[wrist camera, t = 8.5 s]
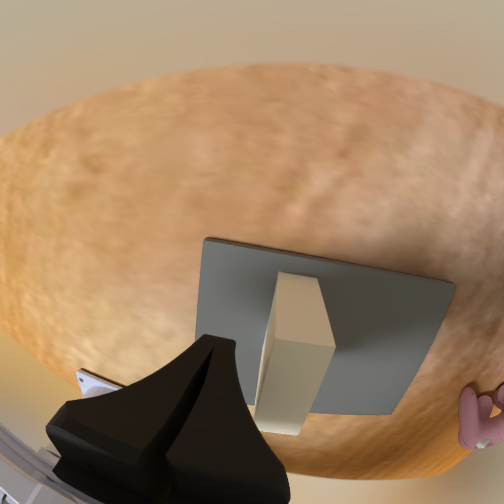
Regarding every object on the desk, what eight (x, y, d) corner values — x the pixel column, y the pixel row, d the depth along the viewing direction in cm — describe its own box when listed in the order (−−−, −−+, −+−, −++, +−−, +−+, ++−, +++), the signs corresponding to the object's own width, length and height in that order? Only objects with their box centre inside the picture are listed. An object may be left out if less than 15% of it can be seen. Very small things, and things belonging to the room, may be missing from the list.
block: (295, 355, 15) (297, 435, 10) (262, 349, 16) (251, 429, 10) (317, 278, 14) (335, 346, 8) (278, 271, 14) (275, 338, 8)
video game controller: (444, 401, 18) (455, 463, 13) (463, 385, 15) (478, 458, 10) (511, 369, 17) (526, 423, 12) (532, 350, 14) (550, 409, 9)
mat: (389, 409, 17) (390, 414, 16) (194, 387, 18) (192, 392, 17) (451, 282, 14) (456, 285, 13) (206, 237, 15) (203, 240, 14)
